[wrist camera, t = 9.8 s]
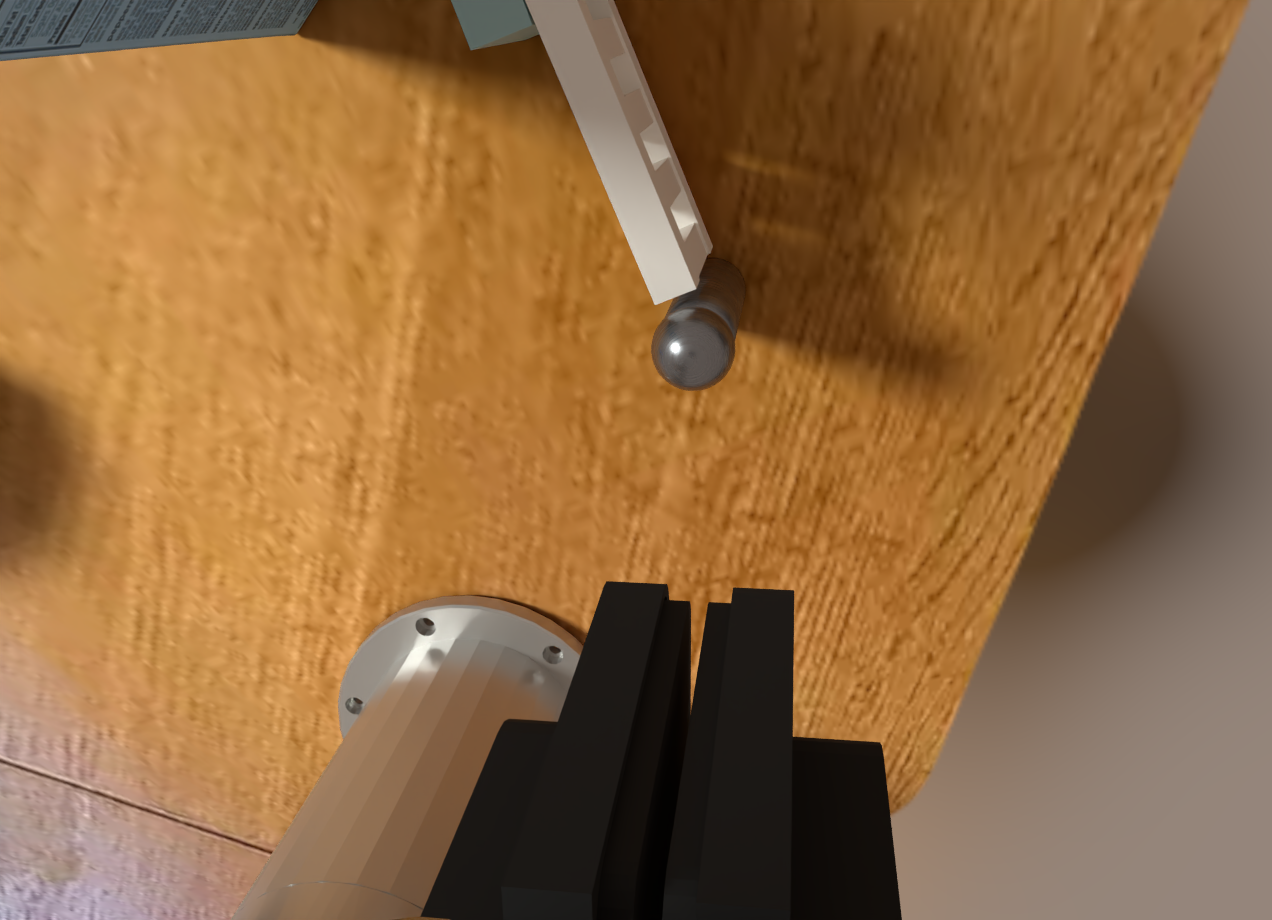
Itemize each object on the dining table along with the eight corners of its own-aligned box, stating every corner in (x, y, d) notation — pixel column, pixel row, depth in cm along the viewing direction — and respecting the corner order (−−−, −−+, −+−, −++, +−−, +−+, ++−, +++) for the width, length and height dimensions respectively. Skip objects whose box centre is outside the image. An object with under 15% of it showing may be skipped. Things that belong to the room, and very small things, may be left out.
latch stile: (577, 18, 40) (532, 25, 34) (524, 40, 41) (470, 50, 34) (555, -41, 40) (505, -45, 33) (503, -18, 40) (443, -19, 34)
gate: (713, 243, 42) (696, 289, 36) (678, 257, 43) (654, 305, 36) (591, -60, 39) (548, -69, 33) (554, -42, 40) (505, -48, 33)
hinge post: (757, 311, 43) (744, 388, 35) (691, 333, 44) (663, 412, 36) (734, 245, 42) (715, 307, 34) (668, 268, 43) (633, 334, 35)
